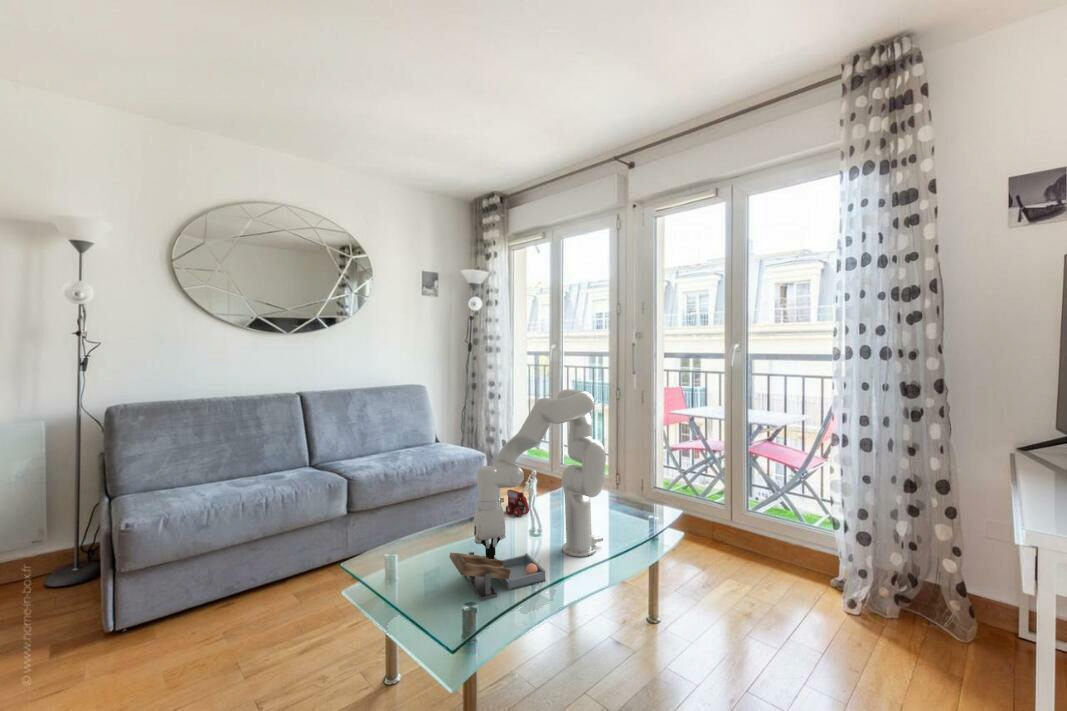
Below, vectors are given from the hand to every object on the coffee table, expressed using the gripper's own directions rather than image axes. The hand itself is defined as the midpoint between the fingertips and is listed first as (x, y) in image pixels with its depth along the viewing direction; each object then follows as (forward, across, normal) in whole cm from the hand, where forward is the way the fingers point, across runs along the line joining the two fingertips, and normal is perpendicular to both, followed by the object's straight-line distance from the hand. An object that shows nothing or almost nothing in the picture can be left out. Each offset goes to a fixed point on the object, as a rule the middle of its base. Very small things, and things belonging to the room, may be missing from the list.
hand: (490, 558), depth 159 cm
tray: (+6, -8, +5) cm, 11 cm away
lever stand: (+6, +6, +5) cm, 9 cm away
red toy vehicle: (+6, -31, -51) cm, 60 cm away
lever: (-1, +6, +5) cm, 8 cm away
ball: (+3, -11, +8) cm, 14 cm away
